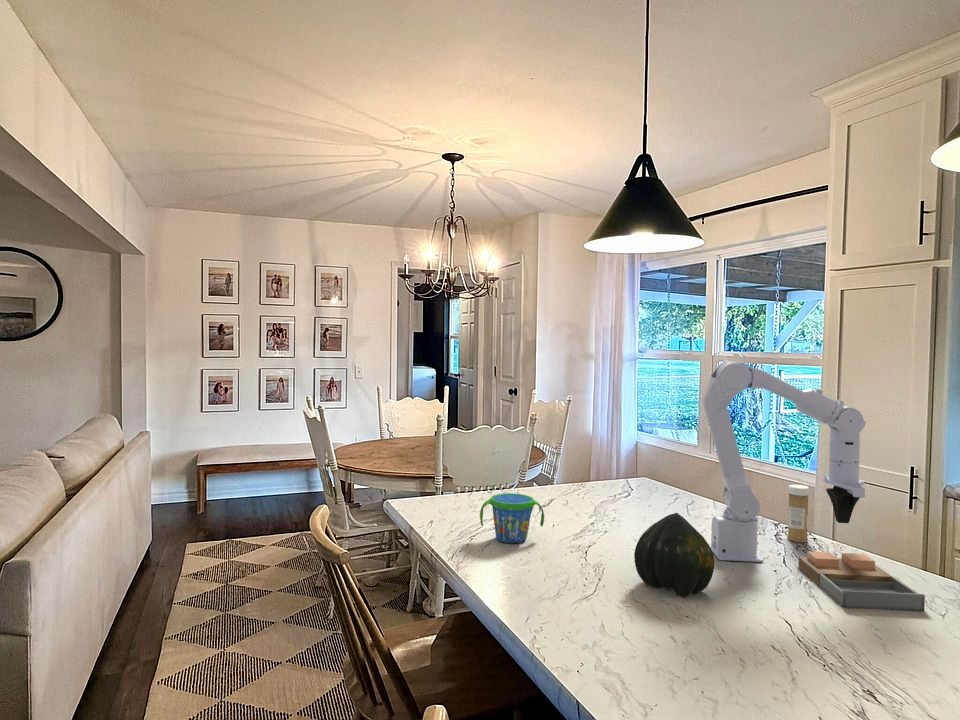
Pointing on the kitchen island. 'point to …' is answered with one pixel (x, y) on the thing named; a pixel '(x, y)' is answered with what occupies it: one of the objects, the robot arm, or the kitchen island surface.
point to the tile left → (823, 559)
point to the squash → (674, 556)
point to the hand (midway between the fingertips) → (842, 522)
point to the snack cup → (511, 516)
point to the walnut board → (842, 572)
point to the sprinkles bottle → (798, 513)
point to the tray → (873, 594)
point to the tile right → (858, 560)
